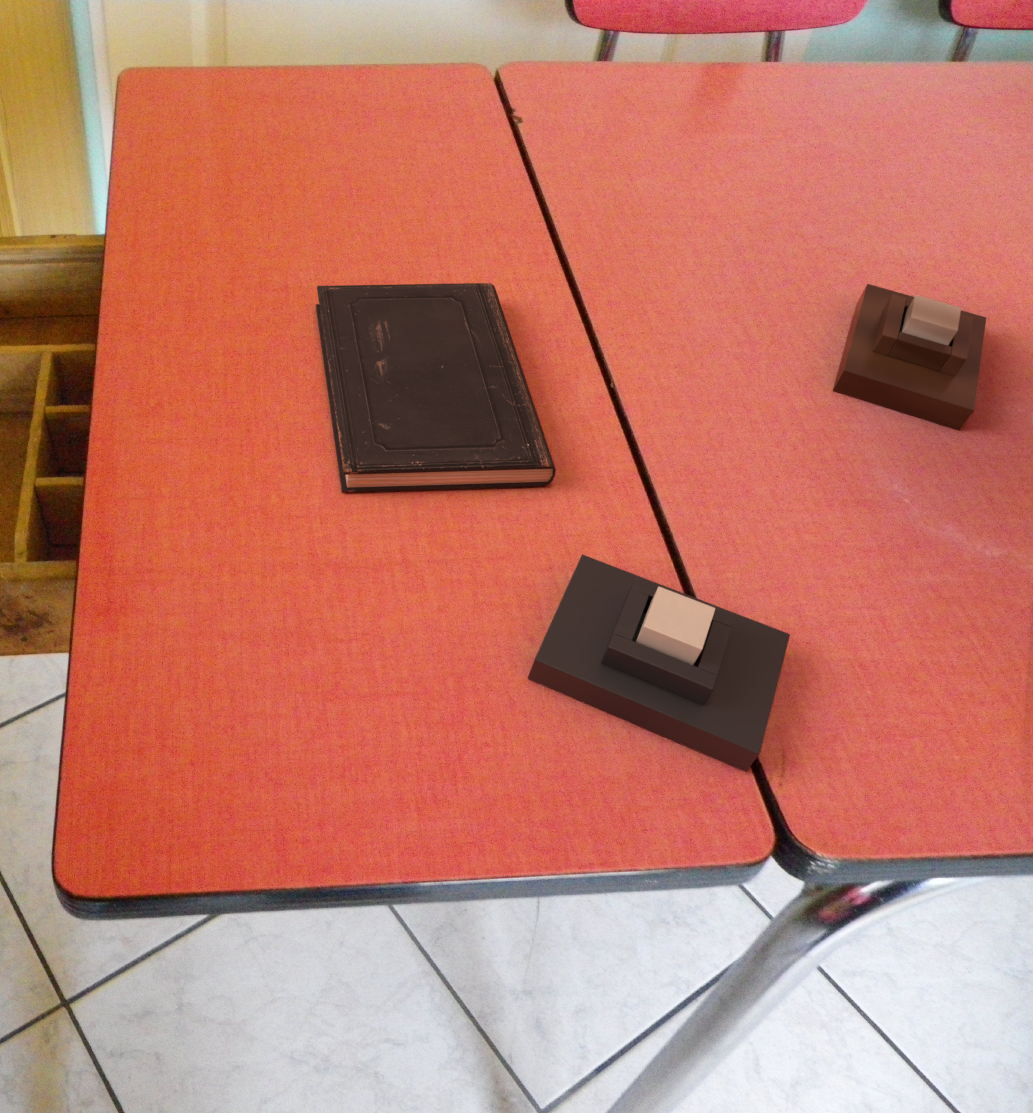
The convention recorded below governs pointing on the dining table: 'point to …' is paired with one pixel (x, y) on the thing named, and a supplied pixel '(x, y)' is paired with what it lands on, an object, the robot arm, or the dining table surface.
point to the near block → (662, 666)
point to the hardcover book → (427, 390)
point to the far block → (910, 362)
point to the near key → (676, 625)
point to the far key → (931, 320)
